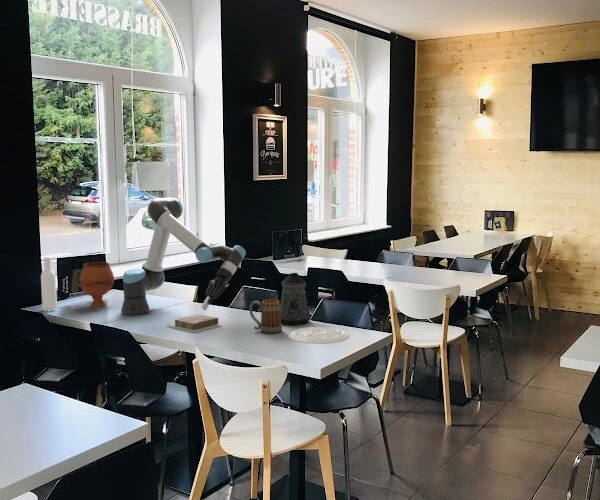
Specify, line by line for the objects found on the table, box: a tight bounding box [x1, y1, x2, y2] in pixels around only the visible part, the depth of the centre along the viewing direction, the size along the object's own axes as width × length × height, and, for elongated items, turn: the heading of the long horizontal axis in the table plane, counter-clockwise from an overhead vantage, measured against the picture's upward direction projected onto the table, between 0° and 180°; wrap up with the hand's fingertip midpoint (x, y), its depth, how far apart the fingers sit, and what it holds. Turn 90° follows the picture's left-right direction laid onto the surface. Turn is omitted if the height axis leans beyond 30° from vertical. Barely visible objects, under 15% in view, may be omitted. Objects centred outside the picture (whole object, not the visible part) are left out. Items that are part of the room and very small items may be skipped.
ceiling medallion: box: [288, 326, 350, 345], centre depth 303 cm, size 28×28×3 cm
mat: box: [167, 323, 222, 334], centre depth 322 cm, size 20×18×1 cm
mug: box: [248, 298, 283, 335], centre depth 311 cm, size 16×11×15 cm
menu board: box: [174, 314, 219, 330], centre depth 323 cm, size 14×3×16 cm
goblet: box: [79, 261, 115, 308], centre depth 372 cm, size 19×19×25 cm
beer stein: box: [280, 272, 311, 327], centre depth 330 cm, size 16×19×25 cm
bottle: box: [40, 256, 58, 312], centre depth 361 cm, size 8×8×30 cm
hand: (203, 308), depth 326 cm, fingers closed
